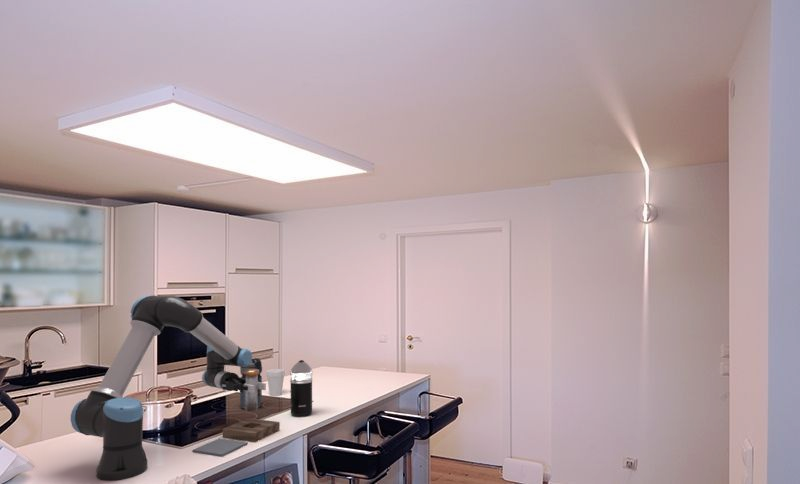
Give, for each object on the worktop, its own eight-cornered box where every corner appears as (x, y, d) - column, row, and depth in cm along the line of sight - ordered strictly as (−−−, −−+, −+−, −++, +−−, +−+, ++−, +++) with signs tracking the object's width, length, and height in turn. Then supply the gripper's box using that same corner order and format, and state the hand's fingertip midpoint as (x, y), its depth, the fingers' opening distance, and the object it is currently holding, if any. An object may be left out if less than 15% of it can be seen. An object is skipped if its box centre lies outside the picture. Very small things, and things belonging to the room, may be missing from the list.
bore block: (254, 442, 201) (254, 433, 201) (222, 437, 207) (222, 428, 207) (279, 430, 216) (279, 421, 216) (248, 426, 222) (248, 418, 222)
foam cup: (266, 393, 282) (266, 369, 283) (283, 392, 285) (283, 368, 285) (267, 397, 273) (267, 372, 274) (285, 396, 276) (285, 371, 276)
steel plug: (252, 412, 208) (253, 372, 209) (240, 410, 210) (241, 371, 211) (262, 408, 213) (262, 369, 214) (250, 407, 216) (250, 368, 217)
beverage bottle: (250, 412, 245) (250, 359, 246) (235, 407, 253) (235, 356, 255) (268, 407, 252) (268, 356, 254) (253, 403, 261) (253, 353, 263)
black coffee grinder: (290, 418, 233) (290, 362, 235) (289, 412, 243) (289, 359, 245) (313, 416, 236) (313, 361, 237) (311, 410, 246) (311, 357, 247)
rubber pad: (222, 456, 186) (222, 454, 186) (192, 451, 191) (192, 449, 191) (247, 444, 198) (247, 442, 199) (219, 440, 204) (219, 438, 204)
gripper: (245, 386, 230) (277, 393, 216) (208, 393, 217) (240, 401, 202) (245, 369, 231) (277, 375, 216) (208, 375, 217) (240, 382, 202)
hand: (259, 388), depth 209 cm, fingers closed on steel plug, 5 cm apart
